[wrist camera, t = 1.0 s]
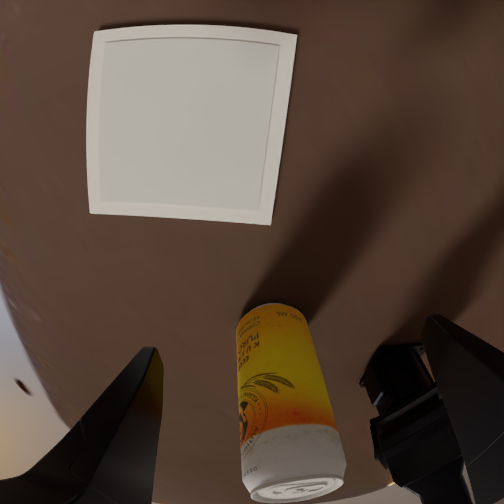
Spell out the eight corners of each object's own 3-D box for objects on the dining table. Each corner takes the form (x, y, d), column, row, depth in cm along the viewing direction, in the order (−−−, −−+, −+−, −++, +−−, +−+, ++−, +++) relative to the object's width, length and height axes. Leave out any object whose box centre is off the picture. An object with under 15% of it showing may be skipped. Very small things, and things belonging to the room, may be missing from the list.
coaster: (295, 36, 15) (297, 34, 15) (269, 222, 21) (270, 225, 21) (97, 32, 14) (93, 31, 13) (92, 210, 20) (89, 214, 20)
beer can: (238, 296, 24) (247, 481, 11) (311, 298, 25) (366, 467, 12) (234, 348, 27) (240, 506, 14) (298, 349, 28) (332, 497, 15)
